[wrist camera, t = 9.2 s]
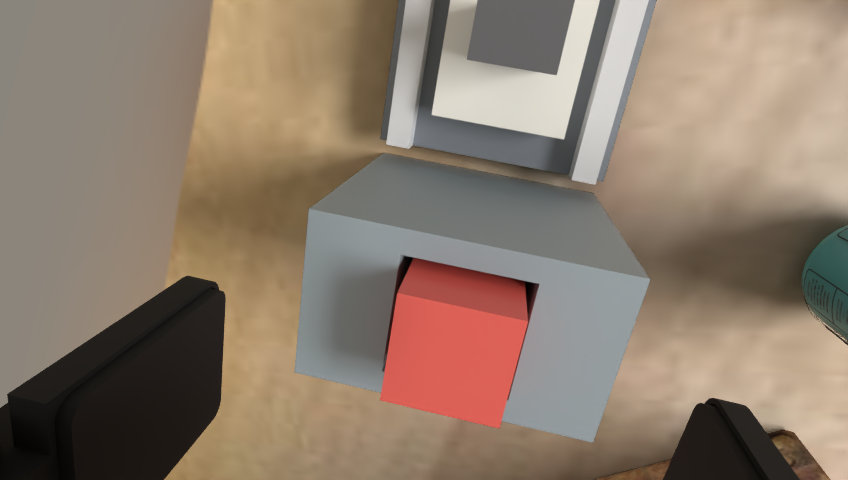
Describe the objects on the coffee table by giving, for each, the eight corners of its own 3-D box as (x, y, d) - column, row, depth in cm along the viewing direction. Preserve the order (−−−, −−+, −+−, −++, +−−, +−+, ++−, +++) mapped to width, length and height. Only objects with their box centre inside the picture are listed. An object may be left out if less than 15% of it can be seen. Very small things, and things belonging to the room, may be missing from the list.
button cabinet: (384, 152, 29) (308, 208, 18) (593, 193, 28) (650, 279, 17) (368, 262, 32) (294, 372, 21) (561, 303, 31) (592, 442, 20)
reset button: (417, 249, 20) (397, 293, 16) (524, 272, 20) (527, 321, 16) (402, 341, 21) (379, 399, 18) (500, 363, 21) (499, 428, 17)
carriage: (465, -64, 24) (444, -132, 15) (604, -42, 23) (660, -101, 15) (436, 111, 26) (404, 134, 18) (559, 133, 26) (585, 168, 18)
